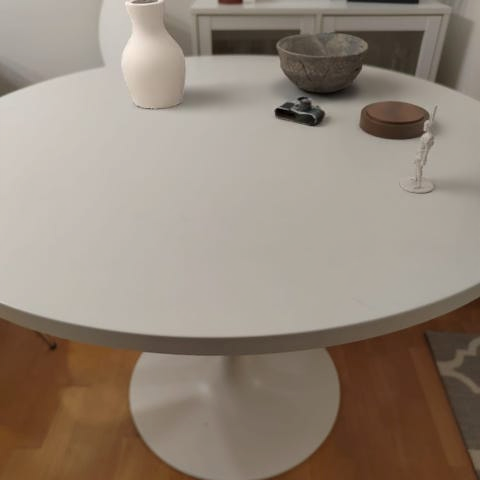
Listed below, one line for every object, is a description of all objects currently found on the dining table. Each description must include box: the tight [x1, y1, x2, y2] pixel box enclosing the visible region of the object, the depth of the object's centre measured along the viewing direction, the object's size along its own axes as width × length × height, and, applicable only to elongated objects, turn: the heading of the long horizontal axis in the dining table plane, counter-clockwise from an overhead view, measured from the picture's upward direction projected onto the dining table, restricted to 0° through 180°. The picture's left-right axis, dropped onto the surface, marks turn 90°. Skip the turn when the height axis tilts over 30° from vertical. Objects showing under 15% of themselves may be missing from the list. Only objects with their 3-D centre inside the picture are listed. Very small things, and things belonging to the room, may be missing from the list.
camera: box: [274, 95, 326, 126], centre depth 94 cm, size 5×10×4 cm, turn 53°
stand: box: [358, 100, 431, 140], centre depth 90 cm, size 13×13×3 cm
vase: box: [120, 0, 187, 110], centre depth 100 cm, size 14×14×20 cm
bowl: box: [275, 31, 369, 94], centre depth 106 cm, size 21×21×10 cm
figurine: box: [399, 104, 438, 194], centre depth 69 cm, size 5×5×12 cm
